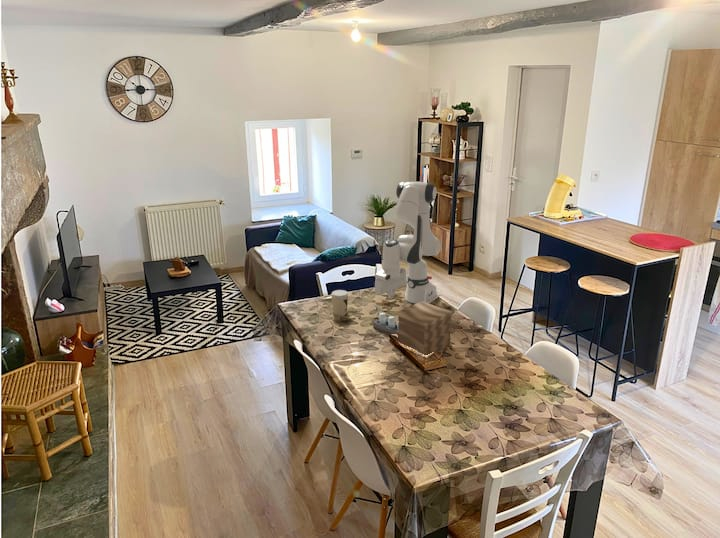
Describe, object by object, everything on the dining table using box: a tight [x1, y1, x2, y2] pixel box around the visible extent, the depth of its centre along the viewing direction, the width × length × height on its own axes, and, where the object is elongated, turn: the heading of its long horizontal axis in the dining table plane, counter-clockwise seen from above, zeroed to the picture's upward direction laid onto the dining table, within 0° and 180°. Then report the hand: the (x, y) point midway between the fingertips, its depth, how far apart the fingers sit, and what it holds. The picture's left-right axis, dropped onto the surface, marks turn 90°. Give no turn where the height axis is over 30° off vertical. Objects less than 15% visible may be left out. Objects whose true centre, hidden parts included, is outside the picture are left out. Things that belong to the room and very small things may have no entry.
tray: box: [373, 311, 398, 335], centre depth 284 cm, size 6×20×8 cm, turn 43°
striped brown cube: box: [395, 301, 453, 355], centre depth 268 cm, size 19×19×18 cm
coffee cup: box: [330, 289, 349, 316], centre depth 307 cm, size 9×9×12 cm
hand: (391, 297), depth 280 cm, fingers closed
